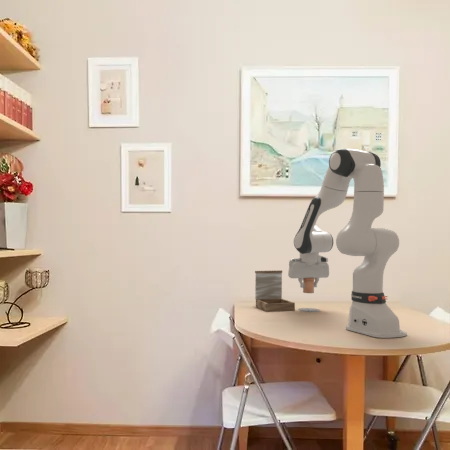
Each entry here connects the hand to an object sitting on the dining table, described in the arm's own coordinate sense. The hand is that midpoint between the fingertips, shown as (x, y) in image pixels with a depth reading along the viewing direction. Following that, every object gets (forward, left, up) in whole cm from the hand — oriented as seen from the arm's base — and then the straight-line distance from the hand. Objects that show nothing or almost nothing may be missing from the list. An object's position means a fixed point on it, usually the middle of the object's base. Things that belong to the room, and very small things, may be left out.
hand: (308, 287), depth 196 cm
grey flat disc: (0, 0, -11) cm, 11 cm away
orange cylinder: (0, 0, -2) cm, 2 cm away
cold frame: (+8, +14, -11) cm, 19 cm away
